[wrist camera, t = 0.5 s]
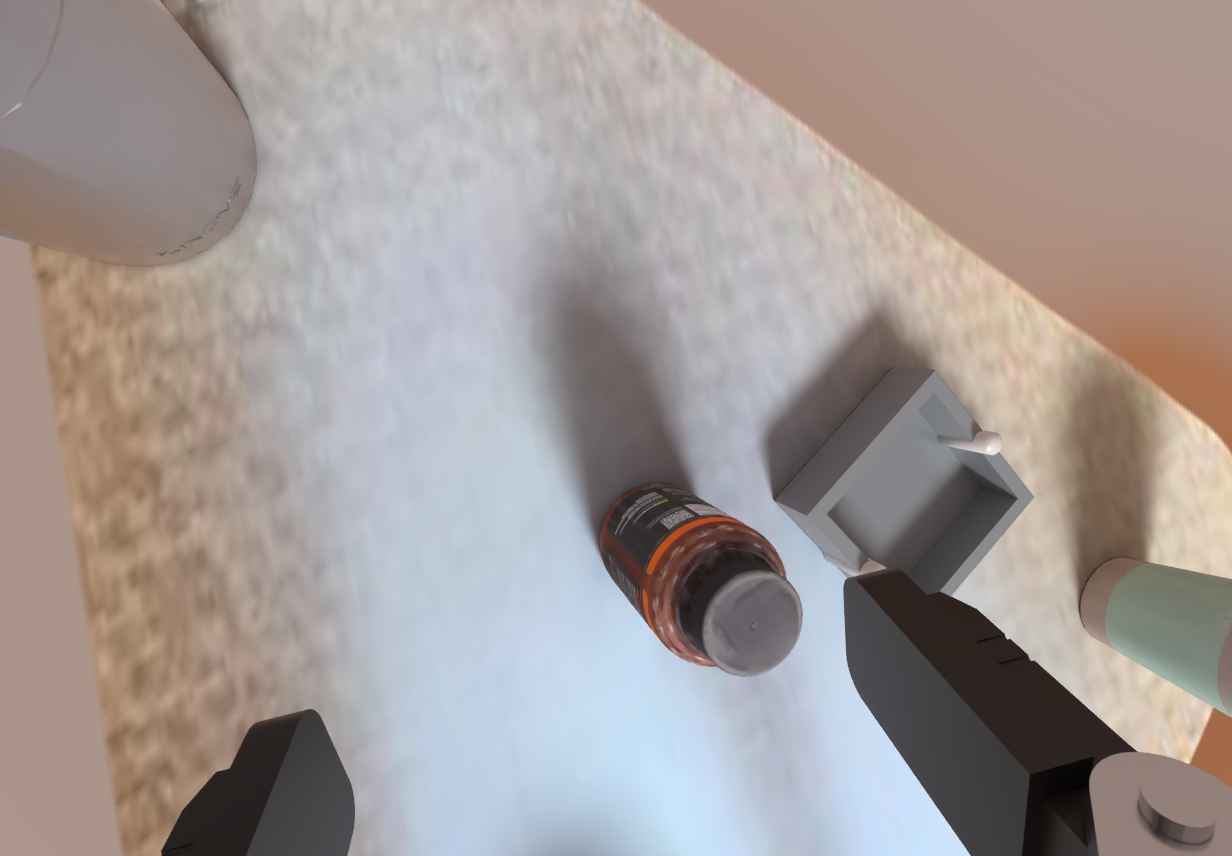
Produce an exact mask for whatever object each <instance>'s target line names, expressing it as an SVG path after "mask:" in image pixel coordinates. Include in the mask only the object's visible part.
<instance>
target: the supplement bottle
mask: <svg viewBox="0 0 1232 856" xmlns="http://www.w3.org/2000/svg"><path fill="white" fill-rule="evenodd" d="M600 552H601V556H602V560H603V563H604V565H605V567H606V569H607V571H608V573H609V574H610V576H611V578H612V579H613V580H614V582H615V583H616V584H617V586H618V587H619V588H620V590H621V591H622V592H623V593H624V595H625V596H626V597H627V598H628V600H629V601H630V602H631V604H632V605H633V606H634V607H635V609H636V610H637V611H638V613H639V614H640V615H641V616H642V618H643V619H644V620H645V622H646V623H647V624H648V625H649V627H650V628H651V629H652V630H653V632H654V633H655V634H656V636H657V637H658V638H659V639H660V640H661V642H662V643H663V644H664V645H665V646H666V647H667V648H668V649H669V650H670V651H671V652H673V653H674V654H675V655H677V656H678V657H680V658H682V659H684V660H686V661H688V662H691V663H694V664H697V665H701V666H709V667H716V666H717V667H718V668H720V669H721V670H723V671H725V672H727V673H729V674H732V675H735V676H742V677H746V676H756V675H760V674H762V673H765V672H767V671H770V670H771V669H773V668H774V667H776V666H777V665H778V664H780V663H781V662H782V661H783V660H784V659H785V658H786V657H787V656H788V655H789V653H790V652H791V650H792V649H793V647H794V646H795V644H796V642H797V640H798V637H799V635H800V631H801V626H802V616H803V613H802V605H801V602H800V598H799V596H798V594H797V592H796V590H795V589H794V587H793V586H792V585H791V584H790V582H789V581H787V578H786V572H785V569H784V566H783V563H782V561H781V559H780V557H779V555H778V553H777V552H776V550H775V548H774V547H773V546H772V544H771V543H770V542H769V541H768V540H767V539H766V538H765V537H764V536H762V535H761V534H760V533H758V532H757V531H755V530H754V529H752V528H750V527H748V526H747V525H745V524H743V523H742V522H740V521H738V520H737V519H735V518H733V517H731V516H729V515H728V514H726V513H724V512H722V511H721V510H719V509H717V508H715V507H714V506H712V505H710V504H708V503H707V502H705V501H703V500H701V499H700V498H698V497H696V496H695V495H693V494H691V493H689V492H687V491H685V490H683V489H681V488H679V487H677V486H674V485H670V484H664V483H650V484H647V485H643V486H640V487H636V488H634V489H632V490H631V491H628V492H627V493H626V494H624V495H623V496H622V497H621V498H620V499H619V500H618V501H617V502H616V503H615V504H614V505H613V506H612V507H611V509H610V510H609V512H608V514H607V516H606V518H605V520H604V523H603V526H602V529H601V535H600Z"/></svg>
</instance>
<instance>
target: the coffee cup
mask: <svg viewBox="0 0 1232 856" xmlns="http://www.w3.org/2000/svg"><path fill="white" fill-rule="evenodd" d="M1080 613H1081V619H1082V623H1083V625H1084V627H1085V629H1086V631H1087V632H1088V633H1089V634H1090V635H1091V636H1092V637H1094V638H1095V639H1097V640H1099V641H1101V642H1102V643H1104V644H1106V645H1107V646H1109V647H1111V648H1113V649H1114V650H1116V651H1118V652H1119V653H1121V654H1123V655H1124V656H1126V657H1128V658H1130V659H1131V660H1133V661H1135V662H1137V663H1138V664H1140V665H1142V666H1143V667H1145V668H1147V669H1149V670H1150V671H1152V672H1154V673H1156V674H1157V675H1159V676H1161V677H1162V678H1164V679H1166V680H1168V681H1169V682H1171V683H1173V684H1175V685H1176V686H1178V687H1180V688H1181V689H1183V690H1185V691H1187V692H1188V693H1190V694H1192V695H1194V696H1195V697H1197V698H1199V699H1200V700H1202V701H1204V702H1206V703H1207V704H1209V705H1211V706H1213V707H1214V708H1216V709H1218V710H1220V711H1221V712H1223V713H1225V714H1227V715H1228V716H1230V717H1232V579H1228V578H1223V577H1218V576H1213V575H1209V574H1204V573H1199V572H1194V571H1189V570H1184V569H1179V568H1174V567H1169V566H1164V565H1159V564H1154V563H1149V562H1144V561H1139V560H1134V559H1129V558H1115V559H1112V560H1109V561H1107V562H1105V563H1104V564H1102V565H1101V566H1100V567H1099V568H1097V569H1096V571H1095V572H1094V573H1093V574H1092V575H1091V577H1090V578H1089V580H1088V582H1087V583H1086V585H1085V588H1084V590H1083V594H1082V597H1081V604H1080Z"/></svg>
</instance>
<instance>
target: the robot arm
mask: <svg viewBox="0 0 1232 856" xmlns="http://www.w3.org/2000/svg"><path fill="white" fill-rule="evenodd" d="M256 174H257V169H256V147H255V142H254V138H253V134H252V130H251V126H250V123H249V121H248V119H247V117H246V114H245V112H244V110H243V108H242V106H241V104H240V102H239V100H238V98H237V97H236V96H235V94H234V93H233V91H232V90H231V89H230V87H229V86H228V85H227V83H226V82H225V81H224V79H223V78H222V77H221V75H220V74H219V73H218V72H217V70H216V69H215V68H214V67H213V66H212V64H211V63H210V62H209V61H208V59H207V58H206V57H205V56H204V55H203V53H202V52H201V51H200V50H199V49H198V47H197V46H196V44H195V43H194V42H193V41H192V39H191V38H190V37H189V36H188V34H187V33H186V32H185V31H184V29H183V28H182V27H181V26H180V25H179V23H178V22H177V21H176V20H175V18H174V17H173V16H172V15H171V14H170V12H169V11H168V10H167V9H166V7H165V6H164V5H163V4H162V3H161V1H160V0H0V236H3V237H7V238H11V239H15V240H19V241H23V242H27V243H31V244H35V245H39V246H42V247H46V248H50V249H54V250H58V251H62V252H66V253H70V254H74V255H78V256H82V257H87V258H91V259H95V260H99V261H103V262H109V263H115V264H121V265H127V266H159V265H164V264H169V263H173V262H178V261H183V260H186V259H188V258H190V257H192V256H195V255H197V254H199V253H201V252H204V251H206V250H208V249H209V248H210V247H212V246H213V245H214V244H216V243H217V242H218V241H220V240H221V239H222V238H224V237H225V236H226V235H227V234H228V233H229V232H230V231H231V229H232V228H233V227H234V226H235V225H236V223H237V222H238V221H239V220H240V219H241V217H242V215H243V213H244V211H245V209H246V207H247V205H248V203H249V201H250V199H251V197H252V192H253V188H254V183H255V178H256ZM844 614H845V636H846V656H847V663H848V667H849V671H850V674H851V677H852V680H853V682H854V685H855V687H856V689H857V691H858V693H859V695H860V697H861V698H862V700H863V701H864V703H865V704H866V706H867V707H868V708H869V710H870V711H871V713H872V714H873V716H874V717H875V719H876V720H877V721H878V723H879V724H880V726H881V727H882V729H883V730H884V731H885V733H886V734H887V736H888V737H889V739H890V740H891V741H892V743H893V744H894V746H895V747H896V749H897V750H898V752H899V753H900V754H901V756H902V757H903V759H904V760H905V762H906V763H907V764H908V766H909V767H910V769H911V770H912V772H913V773H914V775H915V776H916V777H917V779H918V780H919V782H920V783H921V785H922V786H923V787H924V789H925V790H926V792H927V793H928V795H929V796H930V798H931V799H932V800H933V802H934V803H935V805H936V806H937V808H938V809H939V810H940V812H941V813H942V815H943V816H944V818H945V819H946V821H947V822H948V823H949V825H950V826H951V828H952V829H953V831H954V832H955V833H956V835H957V836H958V838H959V839H960V841H961V842H962V843H963V845H964V846H965V848H966V849H967V851H968V852H969V854H970V855H971V856H1232V789H1231V788H1230V787H1229V786H1227V785H1226V784H1224V783H1223V782H1222V781H1220V780H1218V779H1217V778H1215V777H1213V776H1211V775H1210V774H1208V773H1206V772H1205V771H1202V770H1200V769H1198V768H1196V767H1194V766H1192V765H1190V764H1187V763H1184V762H1182V761H1179V760H1176V759H1173V758H1169V757H1166V756H1162V755H1157V754H1151V753H1143V752H1137V751H1136V750H1135V749H1133V748H1132V747H1131V746H1130V745H1128V744H1127V743H1126V742H1125V741H1124V740H1123V739H1122V738H1121V737H1120V736H1118V735H1117V734H1116V733H1115V732H1114V731H1113V730H1112V729H1111V728H1109V727H1108V726H1107V725H1106V724H1105V723H1104V722H1103V721H1102V720H1100V719H1099V718H1098V717H1097V716H1096V715H1095V714H1094V713H1093V712H1091V711H1090V710H1089V709H1088V708H1087V707H1086V706H1085V705H1084V704H1083V703H1081V702H1080V701H1079V700H1078V699H1077V698H1076V697H1075V696H1074V695H1072V694H1071V693H1070V692H1069V691H1068V690H1067V689H1066V688H1065V687H1063V686H1062V685H1061V684H1060V683H1059V682H1058V681H1057V680H1056V679H1055V678H1053V677H1052V676H1051V675H1050V674H1049V673H1048V672H1047V671H1046V670H1044V669H1043V668H1042V667H1041V666H1040V665H1039V664H1038V663H1037V662H1035V661H1031V660H1030V659H1029V657H1028V654H1027V653H1025V652H1024V651H1023V650H1022V649H1021V648H1020V647H1019V646H1018V645H1016V644H1015V643H1014V642H1013V641H1012V640H1011V639H1008V640H1007V639H1006V637H1005V634H1004V633H1003V632H1002V631H1001V630H1000V629H998V628H997V627H996V626H995V625H994V624H993V623H992V622H991V621H990V620H988V619H987V618H986V617H985V616H984V615H983V614H982V613H981V612H979V611H978V610H977V609H975V608H973V607H971V606H969V605H967V604H965V603H963V602H961V601H959V600H957V599H955V598H953V597H951V596H949V595H947V594H945V593H943V592H941V591H940V592H936V593H932V594H928V595H927V594H926V593H925V592H924V591H923V590H922V589H921V588H920V587H919V586H917V585H916V584H915V583H914V582H913V581H912V580H911V579H910V578H909V577H908V576H907V575H906V574H905V573H904V572H903V571H902V570H900V569H899V568H896V567H890V568H886V569H882V570H878V571H874V572H870V573H866V574H862V575H858V576H854V577H850V578H847V579H846V580H845V583H844ZM354 820H355V803H354V795H353V790H352V786H351V783H350V781H349V778H348V776H347V774H346V772H345V769H344V767H343V765H342V763H341V761H340V758H339V756H338V754H337V752H336V750H335V747H334V745H333V743H332V741H331V738H330V736H329V734H328V732H327V730H326V727H325V725H324V723H323V721H322V719H321V717H320V715H319V714H318V713H317V712H316V711H315V710H313V709H308V710H304V711H300V712H296V713H292V714H288V715H284V716H280V717H276V718H272V719H268V720H264V721H260V722H257V723H255V724H254V725H252V727H251V728H250V729H249V731H248V732H247V734H246V736H245V738H244V740H243V742H242V744H241V747H240V749H239V751H238V753H237V755H236V757H235V759H234V761H233V763H232V765H231V767H230V769H226V770H223V771H219V772H216V773H215V774H214V775H213V776H212V778H211V779H210V780H209V781H208V782H207V783H206V784H205V786H204V787H203V788H202V789H201V790H200V791H199V792H198V793H197V795H196V796H195V797H194V798H193V799H192V800H191V801H190V803H189V804H188V805H187V806H186V807H185V808H184V809H183V811H182V813H181V814H180V816H179V818H178V820H177V822H176V824H175V826H174V828H173V830H172V832H171V833H170V835H169V837H168V839H167V841H166V843H165V845H164V847H163V849H162V851H161V853H162V856H347V854H348V850H349V846H350V842H351V838H352V834H353V829H354Z"/></svg>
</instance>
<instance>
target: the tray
mask: <svg viewBox="0 0 1232 856" xmlns="http://www.w3.org/2000/svg"><path fill="white" fill-rule="evenodd" d="M1001 447H1002V438H1001V436H1000V435H999V434H998V433H995V432H989V431H983V430H982V429H981V428H980V427H979V426H978V424H977V423H976V422H975V420H974V419H973V418H972V417H971V415H970V414H969V413H968V411H967V410H966V409H965V408H964V406H963V405H962V404H961V402H960V401H959V400H958V399H957V397H956V396H955V395H954V393H953V392H952V391H951V390H950V388H949V387H948V386H947V384H946V383H945V382H944V381H943V379H942V378H941V377H940V375H939V374H938V373H937V372H936V370H921V369H903V368H891V369H890V371H889V372H888V373H887V374H886V375H885V376H884V377H883V378H882V380H881V381H880V382H879V383H878V384H877V385H876V386H875V387H874V389H873V390H872V391H871V392H870V393H869V394H868V395H867V396H866V397H865V399H864V400H863V401H862V402H861V403H860V404H859V405H858V406H857V408H856V409H855V410H854V411H853V412H852V413H851V414H850V415H849V417H848V418H847V419H846V420H845V421H844V422H843V423H842V424H841V426H840V427H839V428H838V429H837V430H836V431H835V432H834V433H833V434H832V436H831V437H830V438H829V439H828V440H827V441H826V442H825V443H824V445H823V446H822V447H821V448H820V449H819V450H818V451H817V452H816V454H815V455H814V456H813V457H812V458H811V459H810V460H809V461H808V462H807V464H806V465H805V466H804V467H803V468H802V469H801V470H800V471H799V473H798V474H797V475H796V476H795V477H794V478H793V479H792V480H791V482H790V483H789V484H788V485H787V486H786V487H785V488H784V489H783V490H782V492H781V493H780V494H779V495H778V496H777V497H776V498H775V499H774V501H775V502H776V503H777V504H778V505H779V506H780V507H781V509H782V510H783V511H784V512H785V513H786V514H787V515H788V516H789V517H790V518H791V519H792V520H793V521H794V522H795V523H796V524H797V525H798V526H799V527H800V528H801V529H802V530H803V532H804V533H805V534H806V535H807V536H808V537H809V538H810V539H811V540H812V541H813V542H814V543H815V544H816V545H817V546H818V547H819V548H820V549H821V550H822V551H823V552H824V558H825V559H826V560H827V561H828V562H830V563H832V564H833V565H835V566H837V567H838V568H839V569H840V570H841V571H842V572H843V573H844V574H845V575H846V576H847V578H850V577H854V576H858V575H862V574H866V573H870V572H874V571H878V570H882V569H886V568H890V567H896V568H899V569H900V570H902V571H903V572H904V573H905V574H906V575H907V576H908V577H909V578H910V579H911V580H912V581H913V582H914V583H915V584H916V585H917V586H919V587H920V588H921V589H922V590H923V591H924V592H925V593H926V594H927V595H928V594H932V593H936V592H940V591H941V592H943V593H945V594H947V595H949V596H952V594H953V593H954V592H955V591H956V590H957V588H958V587H959V586H960V585H961V584H962V583H963V581H964V580H965V579H966V578H967V577H968V575H969V574H970V573H971V572H972V571H973V569H974V568H975V567H976V566H977V565H978V564H979V562H980V561H981V560H982V559H983V558H984V556H985V555H986V554H987V553H988V552H989V550H990V549H991V548H992V547H993V546H994V545H995V543H996V542H997V541H998V540H999V539H1000V537H1001V536H1002V535H1003V534H1004V533H1005V531H1006V530H1007V529H1008V528H1009V527H1010V526H1011V524H1012V523H1013V522H1014V521H1015V520H1016V518H1017V517H1018V516H1019V515H1020V514H1021V513H1022V511H1023V510H1024V509H1025V508H1026V507H1027V505H1028V504H1029V503H1030V502H1031V501H1032V499H1033V498H1034V496H1033V495H1032V494H1031V492H1030V491H1029V490H1028V488H1027V487H1026V486H1025V485H1024V483H1023V482H1022V481H1021V479H1020V478H1019V477H1018V476H1017V474H1016V473H1015V472H1014V470H1013V469H1012V468H1011V467H1010V465H1009V464H1008V463H1007V461H1006V460H1005V459H1004V458H1003V456H1002V455H1001V454H1000V453H999V451H1000V449H1001Z"/></svg>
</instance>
